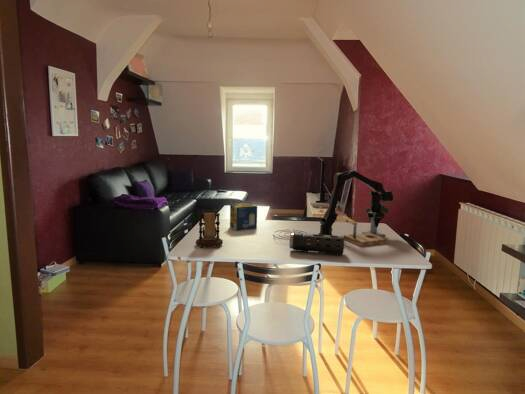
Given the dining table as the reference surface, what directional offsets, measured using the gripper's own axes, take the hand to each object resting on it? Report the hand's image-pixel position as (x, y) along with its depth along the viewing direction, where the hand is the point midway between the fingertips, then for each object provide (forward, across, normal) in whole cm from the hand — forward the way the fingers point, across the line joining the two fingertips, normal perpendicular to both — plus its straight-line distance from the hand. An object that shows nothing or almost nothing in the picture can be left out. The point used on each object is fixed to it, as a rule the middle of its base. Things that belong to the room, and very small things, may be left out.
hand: (373, 225), depth 241 cm
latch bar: (+3, -11, +19) cm, 22 cm away
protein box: (+6, +13, +84) cm, 85 cm away
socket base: (+6, -17, +11) cm, 21 cm away
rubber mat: (+6, 0, 0) cm, 6 cm away
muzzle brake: (+6, -40, +45) cm, 60 cm away
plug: (+5, 0, 0) cm, 5 cm away
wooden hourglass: (+6, -28, +103) cm, 107 cm away
